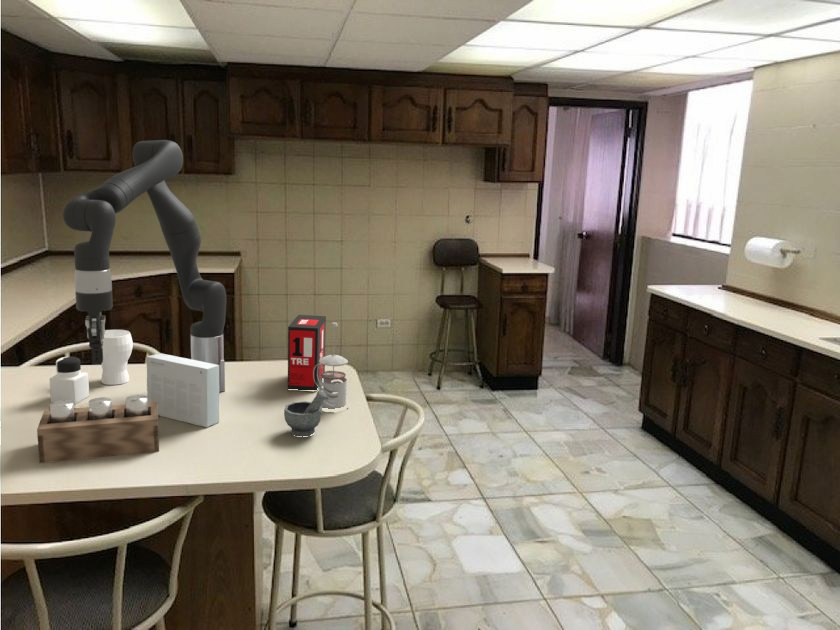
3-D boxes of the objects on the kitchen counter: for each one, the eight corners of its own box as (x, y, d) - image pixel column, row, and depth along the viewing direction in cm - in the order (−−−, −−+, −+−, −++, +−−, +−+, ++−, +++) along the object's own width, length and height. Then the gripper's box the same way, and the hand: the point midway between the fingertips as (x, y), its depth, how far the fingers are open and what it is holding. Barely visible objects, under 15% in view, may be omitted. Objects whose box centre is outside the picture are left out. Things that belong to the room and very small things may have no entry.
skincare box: (221, 421, 181) (220, 364, 178) (207, 428, 176) (205, 369, 173) (161, 406, 190) (159, 351, 186) (146, 412, 185) (144, 356, 181)
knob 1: (75, 419, 161) (74, 399, 160) (73, 426, 157) (72, 406, 156) (52, 421, 159) (51, 400, 158) (50, 428, 155) (48, 408, 154)
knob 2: (148, 413, 167) (147, 394, 166) (148, 420, 163) (147, 400, 162) (127, 415, 165) (126, 395, 164) (126, 422, 161) (125, 402, 160)
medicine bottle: (89, 396, 195) (87, 355, 192) (75, 404, 188) (72, 363, 185) (66, 394, 195) (63, 353, 193) (50, 402, 188) (47, 361, 186)
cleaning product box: (297, 374, 224) (298, 314, 220) (324, 375, 224) (325, 316, 220) (287, 390, 208) (288, 326, 204) (316, 391, 208) (317, 328, 204)
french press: (334, 415, 190) (337, 328, 184) (303, 405, 196) (304, 321, 190) (356, 405, 198) (359, 322, 192) (325, 397, 204) (327, 315, 198)
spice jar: (112, 416, 164) (111, 396, 163) (111, 423, 160) (110, 403, 159) (90, 418, 162) (89, 398, 161) (89, 425, 158) (87, 405, 157)
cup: (109, 374, 214) (106, 328, 211) (141, 377, 213) (139, 330, 209) (88, 384, 204) (85, 336, 200) (121, 388, 202) (119, 339, 199)
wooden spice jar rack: (158, 431, 173) (157, 402, 171) (159, 451, 162) (157, 419, 160) (46, 442, 163) (44, 410, 162) (39, 463, 152) (36, 429, 151)
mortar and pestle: (277, 437, 173) (277, 392, 171) (292, 424, 182) (293, 381, 180) (319, 443, 171) (320, 397, 168) (332, 429, 180) (333, 386, 177)
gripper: (110, 294, 149) (114, 369, 153) (113, 283, 162) (116, 353, 165) (72, 295, 147) (77, 372, 150) (77, 283, 159) (82, 355, 163)
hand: (97, 361), depth 158 cm, fingers closed
